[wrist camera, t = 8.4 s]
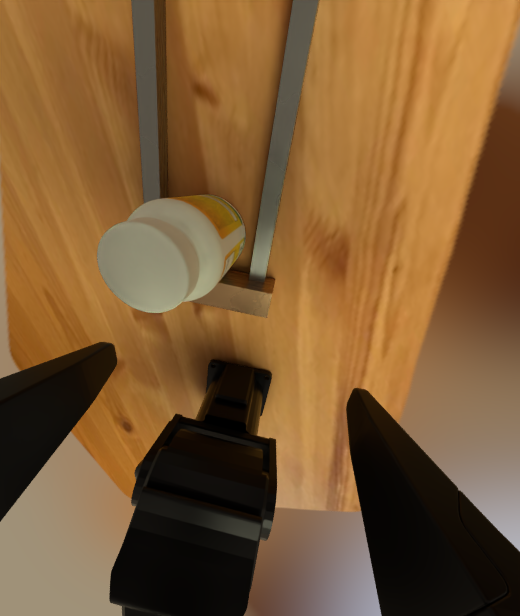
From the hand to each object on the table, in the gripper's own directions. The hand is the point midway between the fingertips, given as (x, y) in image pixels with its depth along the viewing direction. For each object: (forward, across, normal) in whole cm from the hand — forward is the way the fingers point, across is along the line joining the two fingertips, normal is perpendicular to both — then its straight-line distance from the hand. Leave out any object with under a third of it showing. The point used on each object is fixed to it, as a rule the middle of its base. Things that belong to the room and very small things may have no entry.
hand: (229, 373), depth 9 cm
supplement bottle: (+12, +4, -2) cm, 13 cm away
